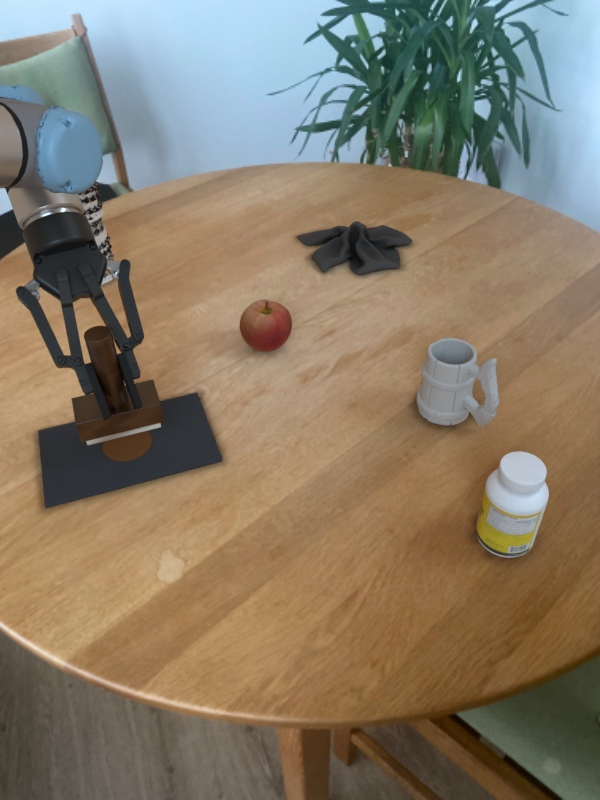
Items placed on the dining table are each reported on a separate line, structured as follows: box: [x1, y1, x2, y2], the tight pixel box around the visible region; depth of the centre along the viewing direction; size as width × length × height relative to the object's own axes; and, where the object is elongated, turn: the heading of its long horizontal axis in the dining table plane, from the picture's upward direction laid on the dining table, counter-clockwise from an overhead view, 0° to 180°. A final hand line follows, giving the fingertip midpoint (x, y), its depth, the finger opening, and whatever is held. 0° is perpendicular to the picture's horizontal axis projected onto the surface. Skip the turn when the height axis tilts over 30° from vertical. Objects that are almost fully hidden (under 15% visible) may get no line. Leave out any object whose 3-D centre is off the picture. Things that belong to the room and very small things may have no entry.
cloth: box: [296, 220, 413, 275], centre depth 126 cm, size 22×19×6 cm
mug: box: [416, 337, 500, 428], centre depth 88 cm, size 8×12×12 cm, turn 41°
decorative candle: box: [79, 181, 115, 286], centre depth 115 cm, size 9×9×25 cm
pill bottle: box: [475, 450, 550, 559], centre depth 73 cm, size 6×6×12 cm
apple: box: [239, 299, 293, 353], centre depth 103 cm, size 8×8×8 cm
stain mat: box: [37, 392, 223, 509], centre depth 89 cm, size 22×14×1 cm, turn 110°
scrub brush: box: [71, 325, 164, 445], centre depth 79 cm, size 10×5×14 cm, turn 110°
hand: (123, 412), depth 78 cm, fingers closed on scrub brush, 3 cm apart
